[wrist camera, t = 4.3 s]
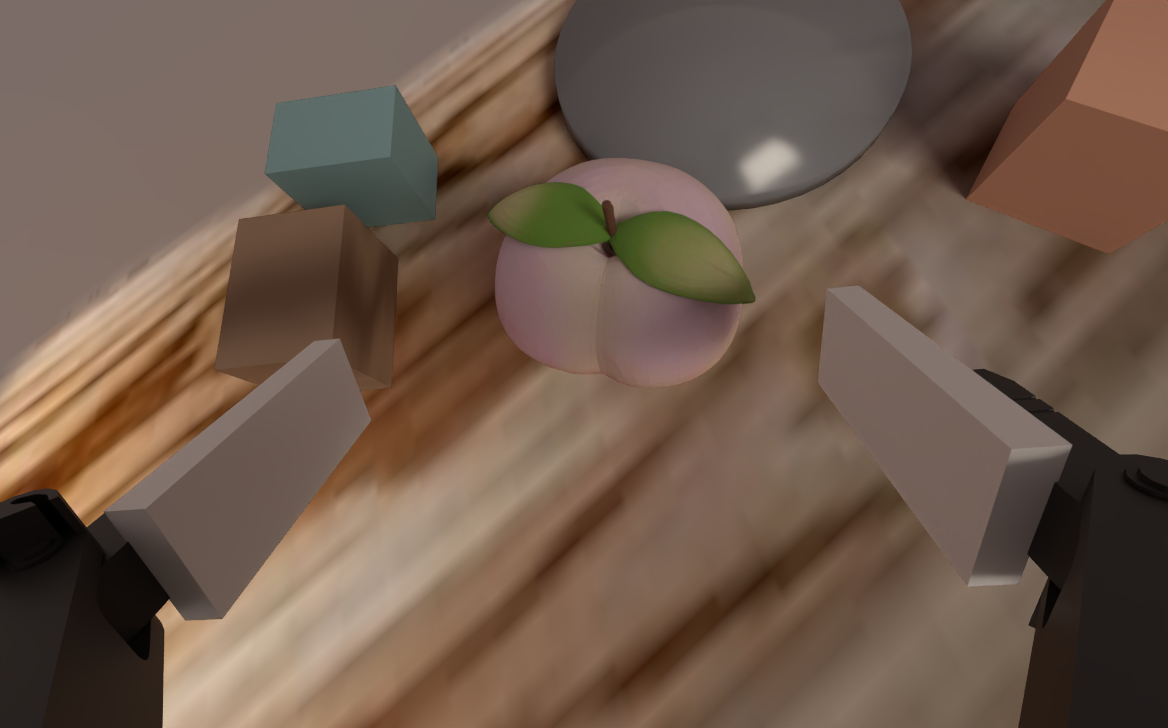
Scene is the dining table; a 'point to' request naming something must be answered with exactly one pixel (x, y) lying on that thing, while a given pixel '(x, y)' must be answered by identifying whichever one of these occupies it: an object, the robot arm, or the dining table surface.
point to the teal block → (355, 156)
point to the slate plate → (734, 87)
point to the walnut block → (309, 295)
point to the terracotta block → (1090, 134)
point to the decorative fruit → (620, 272)
